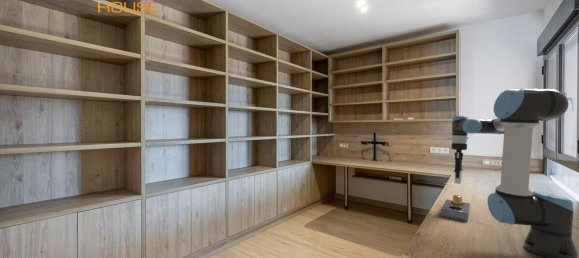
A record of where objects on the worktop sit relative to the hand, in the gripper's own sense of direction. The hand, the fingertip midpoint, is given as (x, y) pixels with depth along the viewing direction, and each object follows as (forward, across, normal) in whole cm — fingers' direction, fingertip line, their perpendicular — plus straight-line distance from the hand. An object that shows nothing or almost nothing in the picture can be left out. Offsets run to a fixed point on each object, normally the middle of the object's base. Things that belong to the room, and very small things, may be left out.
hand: (457, 182), depth 151 cm
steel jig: (+17, -6, 0) cm, 18 cm away
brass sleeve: (+17, 0, 0) cm, 17 cm away
